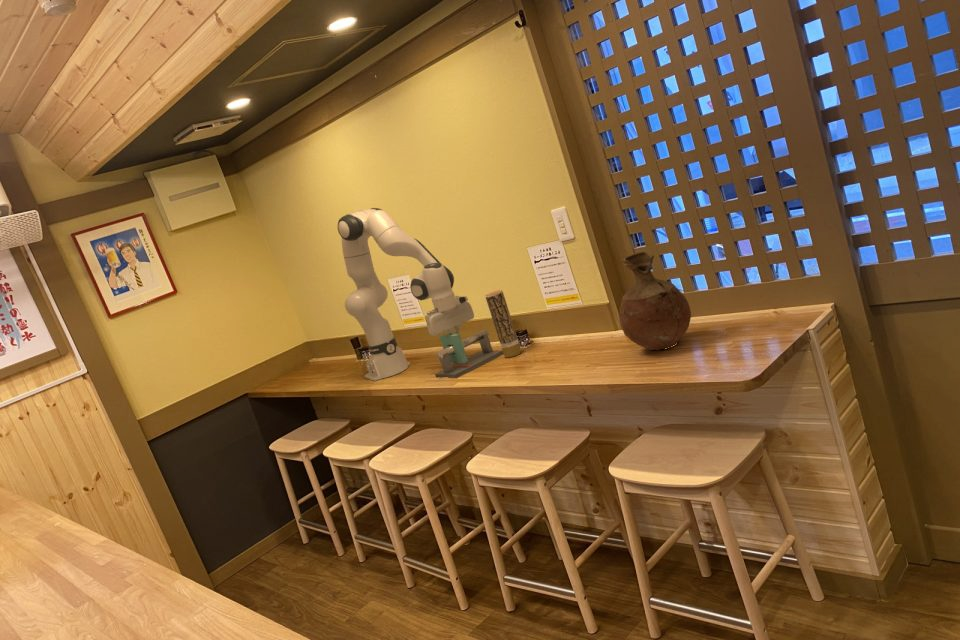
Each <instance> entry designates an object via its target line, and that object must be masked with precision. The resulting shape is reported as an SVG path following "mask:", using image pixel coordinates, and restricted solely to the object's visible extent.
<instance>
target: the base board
mask: <svg viewBox="0 0 960 640" xmlns="http://www.w3.org/2000/svg"><path fill="white" fill-rule="evenodd" d="M501 356H504V353H503V350H502V349H500V350H493V352H491V353H483V351H482V350H480V351H478V352H476V353H474V354H472V355H470V356H467V359H468V361H467V362H465V363H453V364H452V367H453V370H454V371H453V372H451V373H444V371H443V369H442V370H439V371H437V372H436V373H434V374H435V378H438V377H448V378H447V379H458V378H460V377H462V376H464V375H466V374H468V373H470V372H472V371H474V370H475V369H477V368H479V367H481V366H484V365H485V364H487V363H489V362H491V361H493V360H495V359H497V358H500V357H501Z"/></svg>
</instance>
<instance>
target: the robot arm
mask: <svg viewBox="0 0 960 640" xmlns="http://www.w3.org/2000/svg"><path fill="white" fill-rule="evenodd" d="M337 231H338V234H339V235H340V237H341V247H342V250H341V251H342V255H343V259H344V264H345V268H346V272H347V275H348V277H349V278H350V279H351V280H352V281H353V282H354V284H355V287H356V288H357V289H356V290H354V291H352V292H351V293H350V294H349V295H347V297H346V298H345V300H344V308H345V310H346V312H347V313H348V315H350V316H351V317H354V319H355V320H356V321H357V322H358V323H359V325H360V326H361V328H362V330H363V333H364V334H365V337H366V340H367V344H368V347H367V348H368V351H369V354H370V355H369V357H368V360H367V361H366V365H365V369H366V371H368V373H366V374H365V375H364V378H365V379H367V380H371V381H374V382H376V381H379V380H382V379H386V378H388V377H392V376H395V375H398V374H400V373H402V372H404V371H406V370H407V369H408V368H409V366H410V365H411V363H410V361H408V360H407V359H406V356H405V354H404V352H403V349H402V348H401V347H399V346H398V342H397V339H396V337H394V334H393V330H392V328H391V325H390V322H389V320H387V319H386V318H385V317H383V316H382V314H381V313H380V311H379V309H378V308H380V307H382V306H383V304H384V303H385V302H386V301H387V300H388V297H389V295H388V289H387V288H386V286H385V285H384V284H382V283H381V282H380V281H381V280H380V279H379V278H378V276H377V273H376V271H375V268H374V264H373V260H372V255H371V250H370V248H369V239H370V237H372V238H373V240H374V242H375V243H376V244H377V245H378V247H379V248H380V250H381V251H382V252H384V254H386V255H388V256H391V257H409V258H413V259H416V260H417V261H418V262H419V263H420V264H421V265H423V267H422V270H421V272H420V273H419V274H418V275H417V276H415V277H414V278H412V280H411V281H410V292H411V295H413V297H414V298H415V299H417V300H418V301H427V300H428V299H431V303H432V305H433V308H434V309H432V310H430V311H427V312H426V314H425V316H424V319H425V322H426V327H427V331H428V334H429V335H430V336H431V337H435V336H438V335H439V336H440V334H443V333H445V332H447V334H460V333H461V325H463V324H464V323H467V322H469V321H470V320H473V319H474V317H475V314H474V310H473V307H472V305H471V304H470V302H468V300H469V299H468V296H467V295H462V296H460V295H459V296H458V295H455V292H454V290H453V287H454V284H455V277H454V274H453V273H452V271H451V270H450V269H449V268H448V267H446V265H444V264H442V262H441V261H439V260H438V258H437V257H435V256H434V255H433V254H432V252H430V250H429V249H428V248H427V247H426V246H425V245H424V244H423V243H422V242H420V241H419V240H418V239H417V238H415V237H412V236H410V235H409V234H407V233H406V232H405V231H403V229H402V228H401V227H400V226H399V224H398V223H397V222H396V221H395V219H394V218H393V217H392V216H391V215H390V214H389V213H388V212H386V211H385V210H383V209H382V208H377V207H371V208H368V209H360V210H358V211H356V212H352V213H349V214H348V213H347V214H345V215H343V216H342V217H340V218H339V220H338V222H337ZM454 330H455V332H453V331H454ZM460 335H461V334H460Z"/></svg>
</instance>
